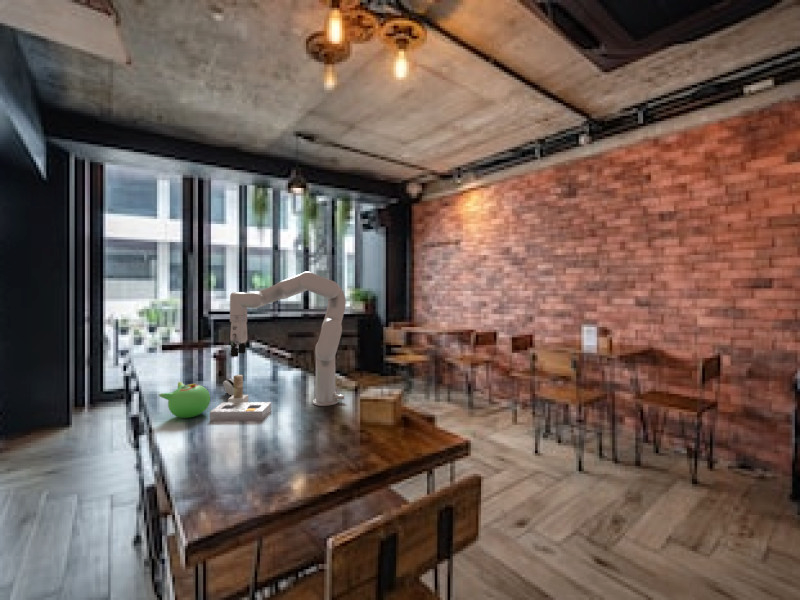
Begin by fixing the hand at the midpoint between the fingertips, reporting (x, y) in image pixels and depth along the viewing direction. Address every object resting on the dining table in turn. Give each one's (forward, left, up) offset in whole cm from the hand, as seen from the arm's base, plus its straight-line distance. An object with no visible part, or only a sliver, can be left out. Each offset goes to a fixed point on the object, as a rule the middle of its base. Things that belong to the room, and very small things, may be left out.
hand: (238, 354), depth 196 cm
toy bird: (+17, +13, -25) cm, 33 cm away
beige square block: (0, 0, -25) cm, 25 cm away
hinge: (+10, -21, -25) cm, 34 cm away
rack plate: (-6, +13, -25) cm, 29 cm away
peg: (0, 0, -20) cm, 20 cm away
